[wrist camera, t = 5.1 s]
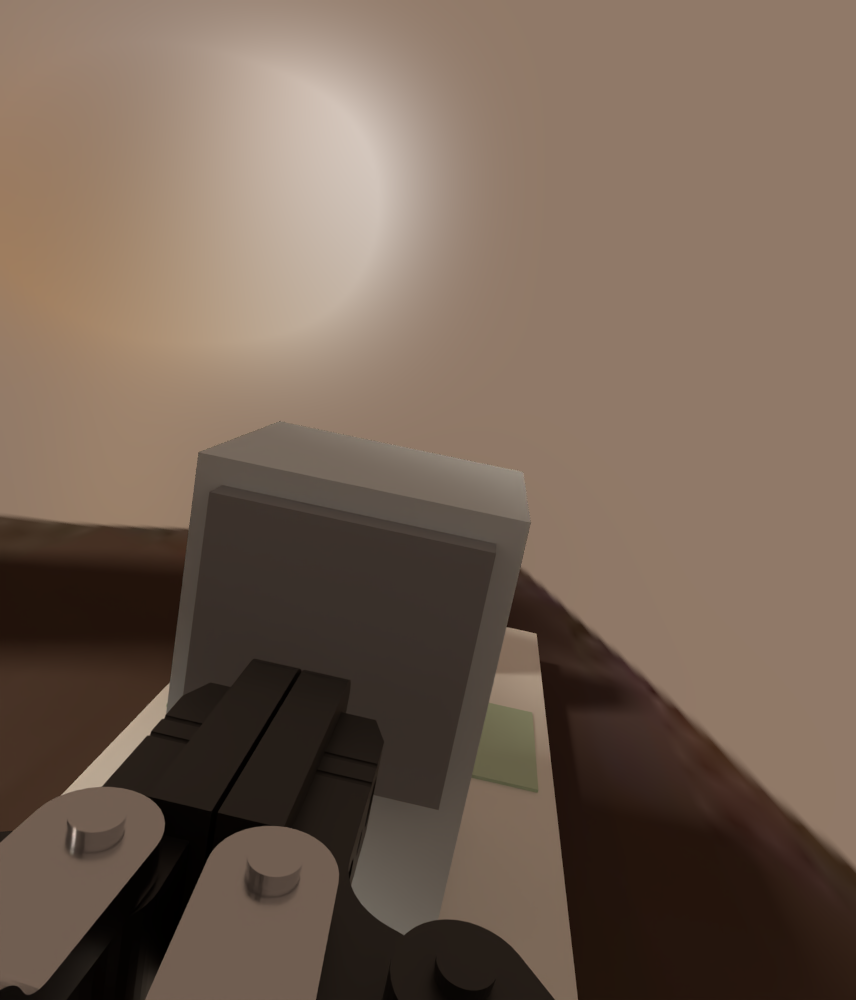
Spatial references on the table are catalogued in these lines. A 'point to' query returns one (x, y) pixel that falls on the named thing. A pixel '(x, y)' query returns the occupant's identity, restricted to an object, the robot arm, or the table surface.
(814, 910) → the table surface
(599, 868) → the table surface
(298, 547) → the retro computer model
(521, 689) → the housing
